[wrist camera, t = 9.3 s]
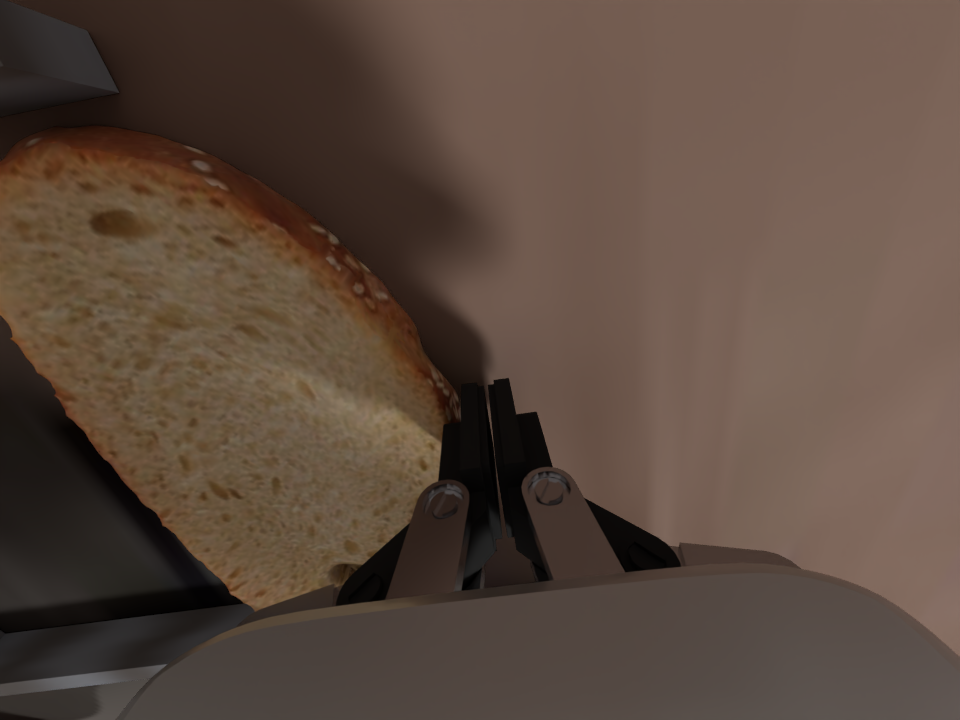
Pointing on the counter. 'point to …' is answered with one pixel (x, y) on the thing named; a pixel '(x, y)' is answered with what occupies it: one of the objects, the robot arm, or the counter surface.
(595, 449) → the counter surface
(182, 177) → the bread slice
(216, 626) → the corral
